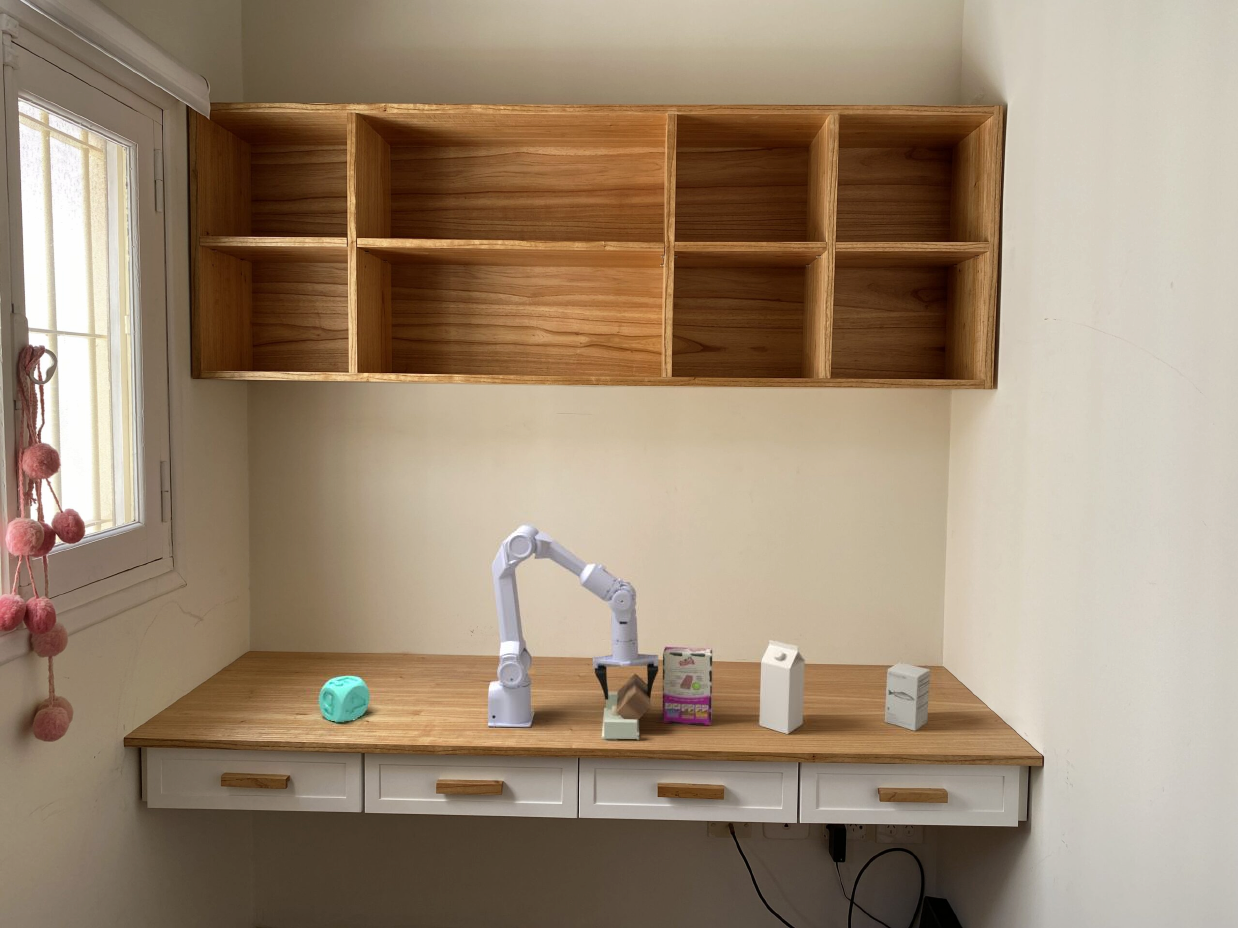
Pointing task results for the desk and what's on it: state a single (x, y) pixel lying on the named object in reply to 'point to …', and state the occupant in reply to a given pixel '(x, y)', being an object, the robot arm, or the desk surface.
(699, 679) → the candy bar box
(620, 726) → the peg frame
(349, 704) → the decorative dice
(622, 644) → the robot arm
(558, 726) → the desk surface
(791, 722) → the milk carton
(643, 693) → the brown rectangular block
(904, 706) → the supplement box
